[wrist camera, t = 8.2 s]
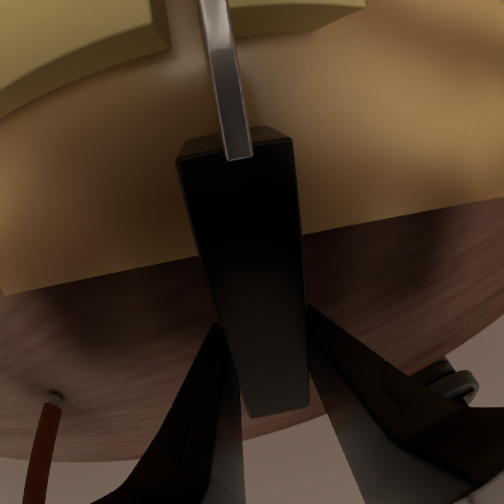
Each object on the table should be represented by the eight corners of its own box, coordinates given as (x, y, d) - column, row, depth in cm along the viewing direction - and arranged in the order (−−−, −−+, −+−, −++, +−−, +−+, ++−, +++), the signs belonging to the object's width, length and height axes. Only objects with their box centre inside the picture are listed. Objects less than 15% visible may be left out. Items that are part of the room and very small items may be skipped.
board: (493, 187, 11) (509, 196, 10) (16, 279, 10) (4, 296, 9) (459, -74, 4) (475, -79, 3) (-42, -13, 3) (-58, -16, 2)
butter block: (172, 48, 6) (152, 23, 4) (-26, 135, 6) (-87, 162, 3) (156, -64, 4) (138, -118, 2) (-37, 34, 4) (-94, 35, 1)
